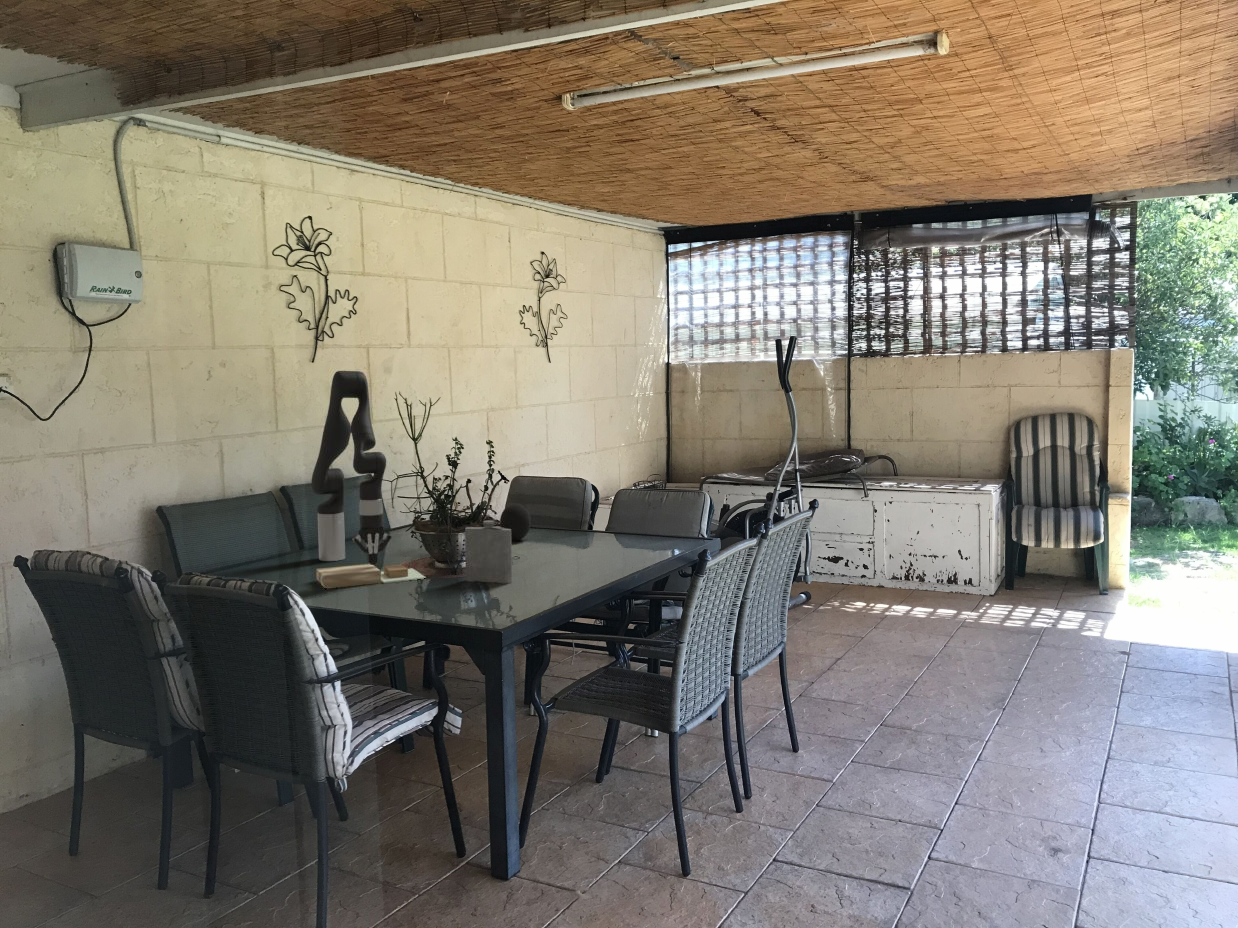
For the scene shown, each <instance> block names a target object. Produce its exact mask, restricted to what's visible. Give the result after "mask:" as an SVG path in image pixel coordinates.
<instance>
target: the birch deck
mask: <svg viewBox="0 0 1238 928" xmlns="http://www.w3.org/2000/svg"><path fill="white" fill-rule="evenodd" d="M315 572H316V573H315V574H316V581H317V580H318V581H319V582H320V583H321V585H322V586H323V587H324V588H327V589H335V588H336V587H337V588H345V587H354V586H361V585H362V586H363V585H364V584H365V585H373V584H381V583H382V582H381V572H382V571H381V570H380V569H379V568H378V567H377V566H375V565H370V563H364V564H353V565H343V566H342V565H340V566H334V567H333V566H332V567H324V568H323V567H321V568H316V571H315ZM321 585H320V586H321ZM322 586H321V587H322ZM323 587H322V588H323ZM324 588H323V589H324Z"/></svg>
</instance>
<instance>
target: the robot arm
mask: <svg viewBox="0 0 1238 928" xmlns="http://www.w3.org/2000/svg"><path fill="white" fill-rule="evenodd" d="M343 399H357V400H358V407H357V409H356V411H355V414H354V415H353V418H352V420H351V422H350V421H349V418H348V417H347V415H346V414H345V411H344V409H343V407H342V406H343V405H342V401H343ZM370 404H371V403H370V394H369V384H368V379H367V376H366V374H365V373H364V372H363V371H360V370H359V371H358V370H337V371H335V372H334V374H333V377H332V379H331V386H330V397H329V404H328V409H327V414H326V418H325V423H324V427H323V430H322V431H323V432H322V435H321V436H322V437H321V444H320V448H319V452H318V456H317V459H316V463H315V465H314V468H313V472H312V476H311V480H310V481H311V490H312V492H313V493H314V494H316V495H320V496H321V495H330V497H329V498H328V499H327V500H326V501H324V502H322V503H319V504H318V505H317V510H316V511H317V512H316V513H317V533H318V534H317V535H318V536H317V537H318V538H317V539H318V560H319V561H322V562H334V561H335V562H336V561H343V560H345V559H346V542H345V541H346V540H345V539H346V538H345V536H346V535H345V534H346V533H345V514H344V513H345V485H346V484H345V474H344V472H343V470H342V469H341V468H338V467H337V468H335V467H333V468H331V466H332V464H333V463H334V461H335V460H337V459H338V457H340V456H341V454H343V453H344V451H345V450H346V449H347V448H348V447H349V446H348V445H349V442H350V440H351V437H352V440H353V447H354V448H353V452H354V454H353V460H352V467H353V470H354V472H356V474H358V475H369V474H371V475H372V474H373V475H372V477H371V478H370V479H367V480H363V481H362V482H360V483H359V506H358V510H359V530H358V534H357V535H356V536H355V537H352V541H353V542H354V543H355V546H357V547H358V548H359V549H360V550H361V551H362V552H363V553H366V554H367V561H368V564H370V565H374V566H375V565H377V564H376V563H378V554H379V552H382V551H383V550H385V548H386V547H387V545H388V543H389V542H390V541H391V539H392V536H391V535H390V534H387V533H386V531H385V529H384V507H383V506H384V505H383V497H382V496H383V495H382V494H383V493H382V485H383V479H384V474H385V471H386V468H387V458H386V456H385V454H384V453H383V452H381V451H372V452H371V451H370V450H372V449H373V448H374V447H375V446H376V443H377V442H376V441H377V440H376V437H375V433H374V429H373V424H372V419H371V407H370V406H371V405H370ZM369 451H370V452H369ZM381 539H382V541H381ZM361 541H363V542H364V543H365V545H366V547H365V546H364V544H362V543H361ZM380 541H381V542H380ZM379 542H380V544H379Z"/></svg>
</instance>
